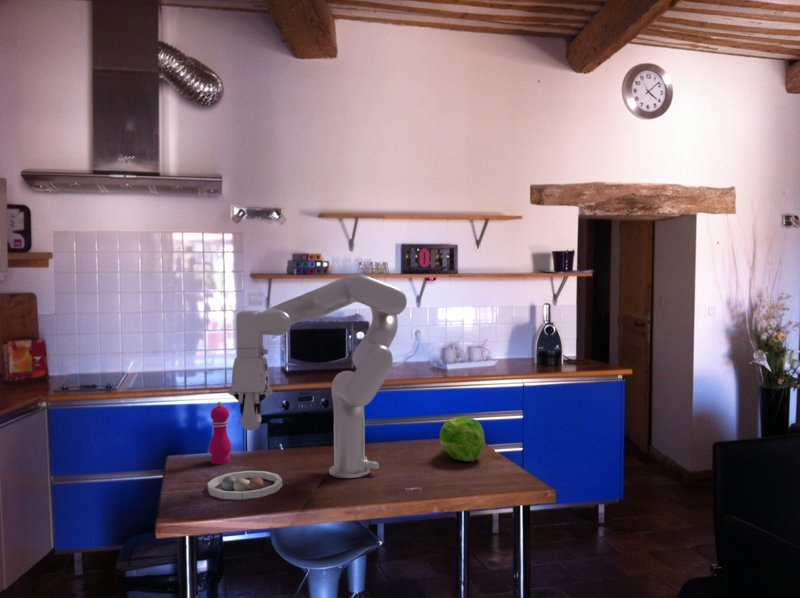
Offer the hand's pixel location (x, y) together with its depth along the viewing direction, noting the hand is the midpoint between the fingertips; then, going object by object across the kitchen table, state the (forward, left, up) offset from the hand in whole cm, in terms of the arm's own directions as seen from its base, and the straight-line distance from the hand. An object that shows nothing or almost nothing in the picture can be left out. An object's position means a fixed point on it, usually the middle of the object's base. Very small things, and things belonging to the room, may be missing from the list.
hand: (250, 415), depth 189 cm
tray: (0, +5, -21) cm, 21 cm away
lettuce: (-60, -38, -21) cm, 74 cm away
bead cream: (0, +10, -19) cm, 22 cm away
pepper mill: (+19, -24, -21) cm, 37 cm away
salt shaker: (0, 0, -4) cm, 4 cm away
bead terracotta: (-4, +8, -19) cm, 21 cm away
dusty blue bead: (+3, +8, -19) cm, 21 cm away
